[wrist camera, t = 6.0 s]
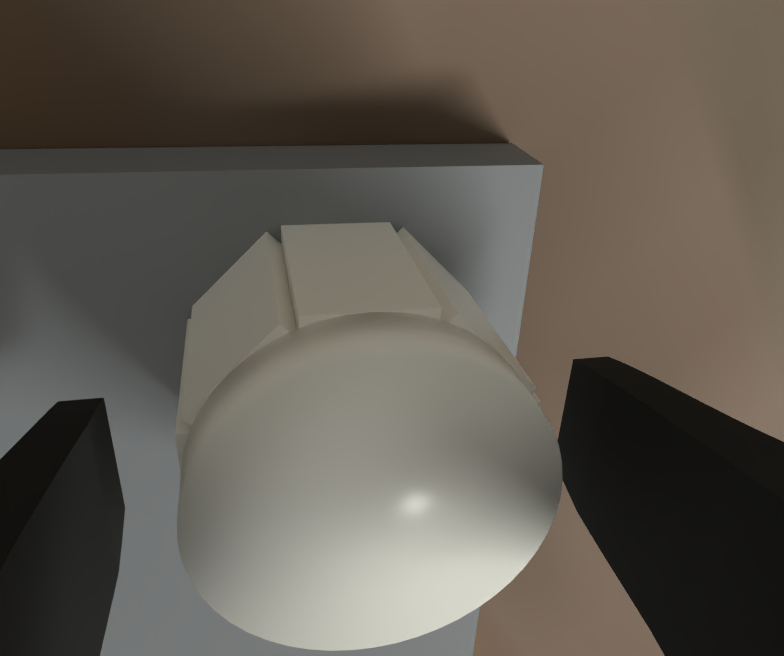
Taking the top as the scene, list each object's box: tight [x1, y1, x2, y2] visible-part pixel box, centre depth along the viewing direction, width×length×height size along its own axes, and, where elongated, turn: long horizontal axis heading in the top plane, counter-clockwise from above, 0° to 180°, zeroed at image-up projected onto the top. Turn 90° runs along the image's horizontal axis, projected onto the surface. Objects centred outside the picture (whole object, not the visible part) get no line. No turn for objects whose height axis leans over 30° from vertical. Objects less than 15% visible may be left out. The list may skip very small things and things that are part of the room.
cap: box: [175, 222, 563, 651], centre depth 11 cm, size 5×5×4 cm
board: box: [0, 143, 544, 656], centre depth 13 cm, size 13×13×4 cm
